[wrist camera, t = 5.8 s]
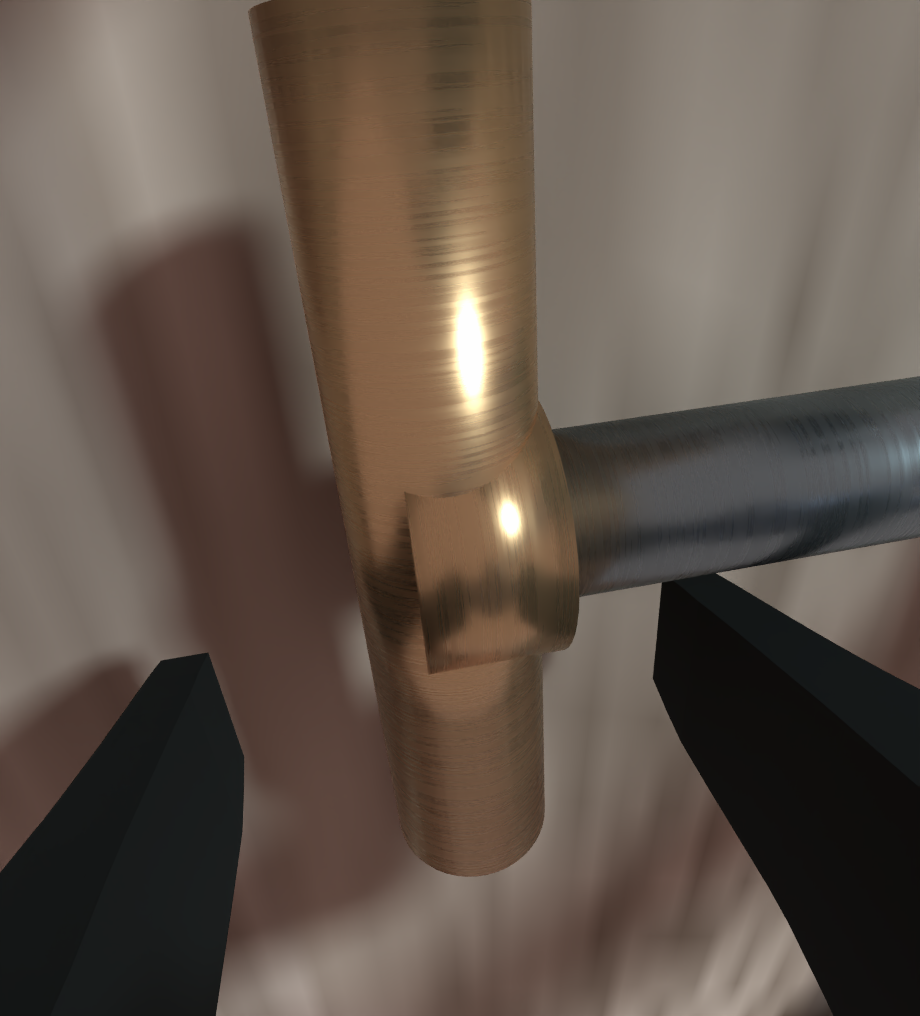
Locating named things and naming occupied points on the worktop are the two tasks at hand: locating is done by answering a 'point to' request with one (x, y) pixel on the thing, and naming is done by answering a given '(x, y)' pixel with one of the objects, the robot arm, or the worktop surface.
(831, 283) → the worktop surface
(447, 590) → the t-handle rod
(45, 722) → the worktop surface
